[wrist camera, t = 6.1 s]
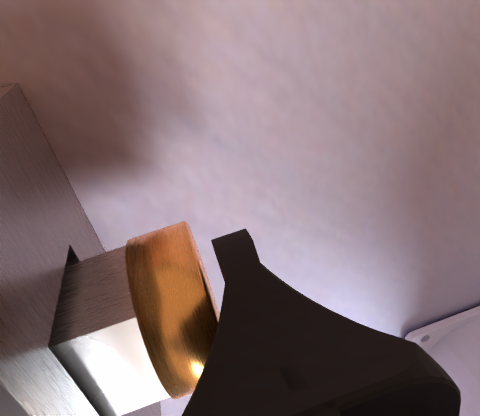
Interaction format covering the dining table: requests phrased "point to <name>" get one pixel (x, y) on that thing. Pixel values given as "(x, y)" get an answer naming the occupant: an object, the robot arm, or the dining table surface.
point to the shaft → (136, 321)
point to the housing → (37, 266)
